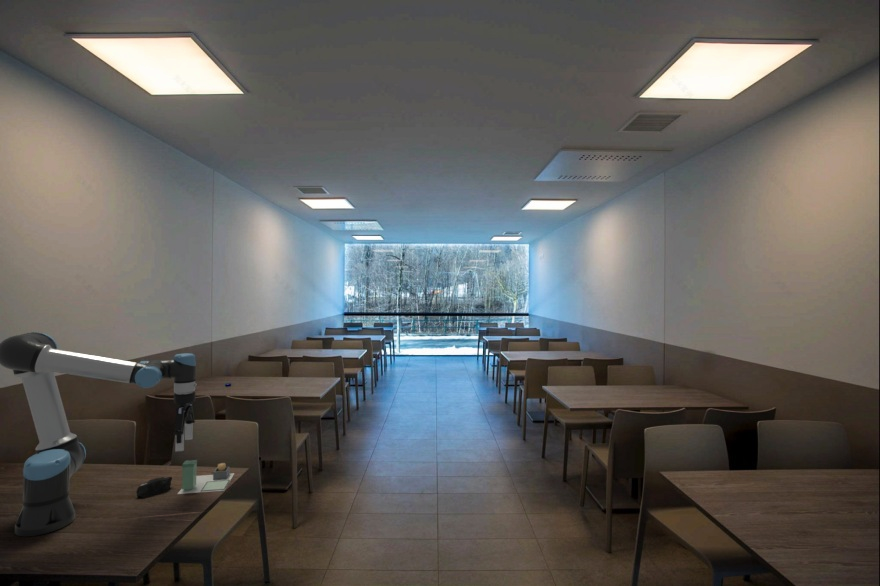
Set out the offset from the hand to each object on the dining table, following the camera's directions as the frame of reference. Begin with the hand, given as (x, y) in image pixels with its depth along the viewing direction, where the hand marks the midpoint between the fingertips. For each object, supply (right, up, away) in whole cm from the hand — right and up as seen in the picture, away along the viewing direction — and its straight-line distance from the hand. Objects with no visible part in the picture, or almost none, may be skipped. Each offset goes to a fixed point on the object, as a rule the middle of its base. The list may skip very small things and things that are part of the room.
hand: (184, 445), depth 175 cm
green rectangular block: (+3, -17, -1) cm, 17 cm away
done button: (+10, -15, +11) cm, 21 cm away
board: (+7, -18, +4) cm, 20 cm away
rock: (-10, -18, -4) cm, 21 cm away
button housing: (+10, -18, +11) cm, 23 cm away
